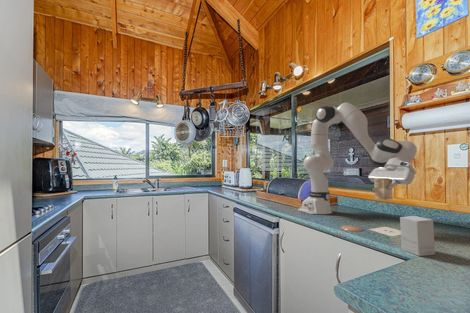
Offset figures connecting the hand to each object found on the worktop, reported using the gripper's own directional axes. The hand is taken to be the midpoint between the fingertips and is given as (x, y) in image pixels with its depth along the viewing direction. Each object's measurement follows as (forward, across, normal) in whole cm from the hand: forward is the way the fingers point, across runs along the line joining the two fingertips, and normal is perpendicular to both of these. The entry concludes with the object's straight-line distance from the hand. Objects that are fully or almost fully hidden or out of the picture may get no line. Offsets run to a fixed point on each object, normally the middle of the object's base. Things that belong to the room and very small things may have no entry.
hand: (382, 188), depth 112 cm
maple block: (+3, 0, +4) cm, 5 cm away
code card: (+14, +1, +16) cm, 21 cm away
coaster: (+22, -9, +7) cm, 25 cm away
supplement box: (+23, +23, +6) cm, 33 cm away
